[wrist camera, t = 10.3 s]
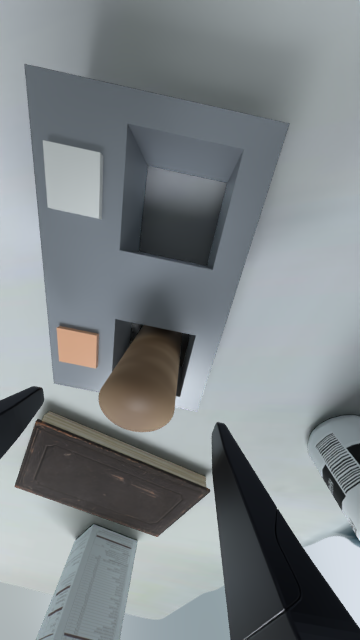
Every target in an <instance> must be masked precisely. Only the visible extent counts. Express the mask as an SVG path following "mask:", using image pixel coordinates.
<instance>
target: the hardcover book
mask: <svg viewBox="0 0 360 640" xmlns="http://www.w3.org/2000/svg"><path fill="white" fill-rule="evenodd" d="M15 487H16V488H19V489H22V490H25V491H28V492H31V493H33V494H36V495H39V496H42V497H45V498H48V499H50V500H53V501H56V502H59V503H62V504H65V505H68V506H70V507H73V508H76V509H79V510H82V511H85V512H88V513H90V514H93V515H96V516H99V517H102V518H105V519H107V520H110V521H113V522H116V523H119V524H122V525H125V526H127V527H130V528H133V529H136V530H139V531H142V532H144V533H147V534H150V535H153V536H156V537H158V536H159V535H160V534H161V533H162V532H164V531H165V530H166V529H167V528H168V527H169V526H171V525H172V524H173V523H174V522H175V521H176V520H178V519H179V518H180V517H181V516H182V515H184V514H185V513H186V512H187V511H188V510H189V509H191V508H192V507H193V506H194V505H195V504H196V503H198V502H199V501H200V500H201V499H202V498H203V497H205V496H206V495H207V494H208V493H209V492H210V489H208V488H206V478H205V476H203V475H200V474H198V473H195V472H193V471H191V470H188V469H186V468H184V467H181V466H179V465H176V464H174V463H172V462H169V461H167V460H165V459H162V458H160V457H157V456H155V455H153V454H150V453H148V452H145V451H143V450H141V449H138V448H136V447H134V446H131V445H129V444H126V443H124V442H122V441H119V440H117V439H115V438H112V437H110V436H107V435H105V434H103V433H100V432H98V431H96V430H93V429H91V428H88V427H86V426H84V425H81V424H79V423H77V422H74V421H72V420H69V419H67V418H65V417H62V416H60V415H57V414H55V413H53V412H50V411H49V412H48V413H47V414H45V415H44V417H43V419H42V420H39V419H37V421H36V423H35V426H34V429H33V432H32V435H31V438H30V441H29V444H28V447H27V450H26V453H25V456H24V459H23V462H22V465H21V468H20V471H19V474H18V477H17V480H16V483H15Z"/></svg>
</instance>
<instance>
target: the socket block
mask: <svg viewBox="0 0 360 640" xmlns="http://www.w3.org/2000/svg"><path fill="white" fill-rule="evenodd" d="M25 75H26V86H27V97H28V108H29V119H30V129H31V140H32V151H33V162H34V173H35V184H36V194H37V205H38V216H39V227H40V238H41V249H42V259H43V270H44V281H45V292H46V303H47V314H48V324H49V335H50V346H51V357H52V368H53V379H54V383H55V384H60V385H65V386H70V387H75V388H80V389H85V390H90V391H95V392H100V390H101V388H102V386H103V385H104V383H105V382H106V380H107V379H108V377H109V376H110V374H111V373H112V371H113V370H114V368H115V367H116V365H117V364H118V362H119V361H120V359H121V358H122V356H123V355H124V353H125V352H126V350H127V349H128V347H129V345H130V335H131V325H132V322H133V323H138V324H142V325H147V326H152V327H157V328H162V329H167V330H172V331H176V332H181V333H186V334H190V337H189V341H188V346H187V350H186V354H185V358H184V362H183V366H179V371H178V381H177V390H176V400H175V408H180V409H185V410H190V411H195V412H197V411H198V408H199V405H200V402H201V399H202V396H203V393H204V390H205V386H206V383H207V380H208V377H209V374H210V371H211V368H212V365H213V361H214V358H215V355H216V352H217V349H218V346H219V343H220V340H221V336H222V333H223V330H224V327H225V324H226V321H227V318H228V315H229V311H230V308H231V305H232V302H233V299H234V296H235V293H236V290H237V286H238V283H239V280H240V277H241V274H242V271H243V268H244V265H245V261H246V258H247V255H248V252H249V249H250V246H251V243H252V240H253V236H254V233H255V230H256V227H257V224H258V221H259V218H260V215H261V211H262V208H263V205H264V202H265V199H266V196H267V193H268V190H269V186H270V183H271V180H272V177H273V174H274V171H275V168H276V165H277V161H278V158H279V155H280V152H281V149H282V146H283V143H284V140H285V136H286V133H287V130H288V127H289V123H285V122H280V121H276V120H272V119H267V118H263V117H258V116H254V115H249V114H245V113H241V112H236V111H232V110H227V109H223V108H218V107H214V106H209V105H205V104H201V103H196V102H192V101H187V100H183V99H178V98H174V97H170V96H165V95H161V94H156V93H152V92H147V91H143V90H138V89H134V88H130V87H125V86H121V85H116V84H112V83H107V82H103V81H98V80H94V79H90V78H85V77H81V76H76V75H72V74H67V73H63V72H59V71H54V70H50V69H45V68H41V67H36V66H32V65H27V64H25ZM148 166H153V167H157V168H162V169H167V170H171V171H176V172H180V173H185V174H189V175H194V176H198V177H203V178H208V179H212V180H217V181H221V182H226V183H227V186H226V190H225V194H224V198H223V202H222V206H221V210H220V214H219V218H218V223H217V227H216V231H215V235H214V239H213V243H212V247H211V251H210V255H209V259H208V264H207V266H205V265H200V264H195V263H191V262H186V261H181V260H177V259H172V258H167V257H162V256H158V255H153V254H148V253H143V252H139V246H140V236H141V226H142V216H143V207H144V197H145V187H146V177H147V167H148Z"/></svg>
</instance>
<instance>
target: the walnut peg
mask: <svg viewBox="0 0 360 640" xmlns="http://www.w3.org/2000/svg"><path fill="white" fill-rule="evenodd" d="M181 343H182V333H181V332H176V331H172V330H167V329H162V328H157V327H152V326H147V325H143V327H142V328H141V330H140V331H139V333H138V334H137V336H136V337H135V339H134V340H133V341H132V343H131V344H130V346H129V347H128V349H127V350H126V352H125V353H124V355H123V356H122V358H121V359H120V361H119V362H118V364H117V365H116V367H115V368H114V370H113V371H112V373H111V374H110V376H109V377H108V379H107V380H106V382H105V383H104V385H103V386H102V388H101V390H100V393H99V404H100V407H101V410H102V411H103V413H104V414H105V416H106V417H107V418H108V419H109V420H110V421H111V422H113V423H114V424H116V425H118V426H119V427H122V428H124V429H127V430H130V431H135V432H150V431H154V430H157V429H160V428H162V427H163V426H165V425H166V424H167V423H168V422H169V421H170V420H171V418H172V417H173V414H174V409H175V400H176V390H177V381H178V371H179V362H180V352H181Z"/></svg>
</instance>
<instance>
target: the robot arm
mask: <svg viewBox="0 0 360 640" xmlns="http://www.w3.org/2000/svg"><path fill="white" fill-rule="evenodd" d="M43 402H44V394H43V389H42V388H41V387H36V386H33V387H30V388H28V389H25V390H23V391H21V392H19V393H16V394H14V395H12V396H9V397H7V398H5V399H3V400H0V459H1V458H2V457H3V455H4V454H5V453H6V452H7V451H8V449H9V448H10V447H11V446H12V445H13V443H14V442H15V441H16V440H17V439H18V437H19V436H20V435H21V434H22V432H23V431H24V429H25V428H26V427H27V425H28V424H29V423H30V421H31V420H32V418H33V417H34V416H35V414H36V413H37V411H38V410H39V409H40V407H41V406H42V404H43ZM212 474H213V484H214V493H215V502H216V511H217V521H218V530H219V539H220V548H221V557H222V566H223V575H224V584H225V593H226V602H227V610H228V620H229V628H230V638H231V640H360V628H359V627H358V625H357V624H356V623H355V621H354V620H353V618H352V617H351V616H350V614H349V613H348V611H347V610H346V609H345V607H344V606H343V604H342V603H341V602H340V600H339V599H338V597H337V596H336V594H335V593H334V592H333V590H332V589H331V587H330V586H329V584H328V583H327V582H326V580H325V579H324V577H323V576H322V575H321V573H320V572H319V570H318V569H317V567H316V566H315V565H314V563H313V562H312V560H311V559H310V557H309V556H308V554H307V553H306V552H305V550H304V549H303V547H302V546H301V544H300V543H299V541H298V540H297V538H296V537H295V535H294V534H293V532H292V530H291V529H290V527H289V526H288V524H287V523H286V521H285V519H284V518H283V516H282V515H281V513H280V511H279V510H278V509H277V507H276V505H275V504H274V502H273V500H272V499H271V497H270V496H269V494H268V492H267V491H266V489H265V488H264V486H263V484H262V483H261V481H260V480H259V478H258V476H257V475H256V473H255V471H254V470H253V468H252V467H251V465H250V463H249V462H248V460H247V459H246V457H245V455H244V454H243V452H242V451H241V449H240V447H239V446H238V444H237V443H236V441H235V439H234V438H233V436H232V435H231V433H230V431H229V430H228V428H227V427H226V425H225V424H224V423H219V422H217V423H216V424H215V427H214V430H213V432H212Z"/></svg>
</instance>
